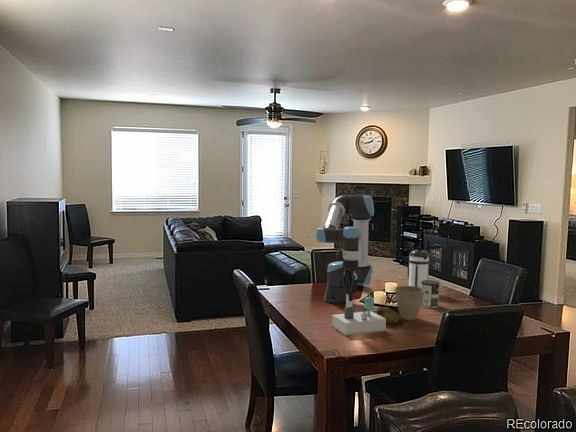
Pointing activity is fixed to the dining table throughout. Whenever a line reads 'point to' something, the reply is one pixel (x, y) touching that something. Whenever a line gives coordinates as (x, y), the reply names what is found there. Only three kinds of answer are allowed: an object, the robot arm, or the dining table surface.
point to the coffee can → (430, 293)
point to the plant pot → (409, 301)
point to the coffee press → (418, 267)
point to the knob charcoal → (349, 313)
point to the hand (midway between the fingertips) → (349, 306)
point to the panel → (359, 324)
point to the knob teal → (369, 304)
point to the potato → (389, 315)
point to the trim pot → (364, 316)
